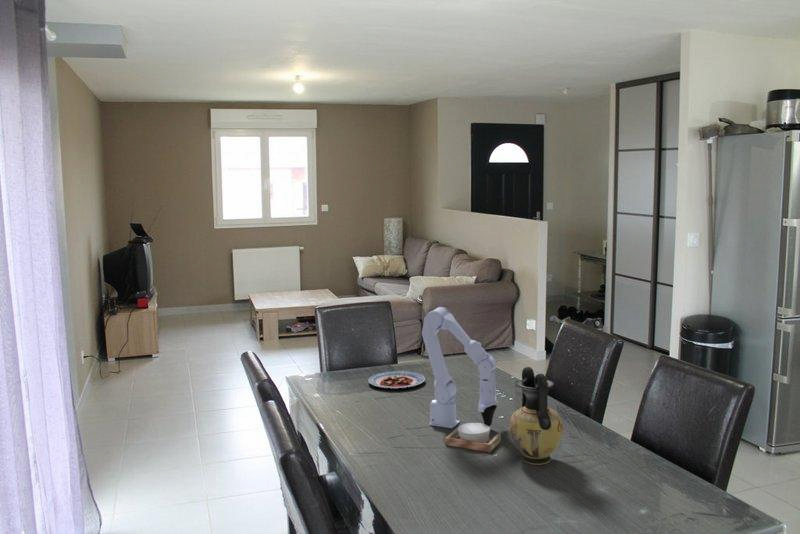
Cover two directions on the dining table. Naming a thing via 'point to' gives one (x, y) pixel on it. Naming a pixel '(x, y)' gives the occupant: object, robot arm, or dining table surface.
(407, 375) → the ceramic plate
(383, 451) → the dining table surface
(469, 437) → the ramekin
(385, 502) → the dining table surface
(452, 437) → the dock
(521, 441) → the amphora
